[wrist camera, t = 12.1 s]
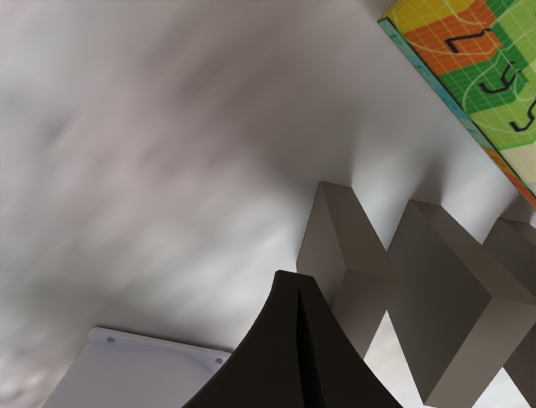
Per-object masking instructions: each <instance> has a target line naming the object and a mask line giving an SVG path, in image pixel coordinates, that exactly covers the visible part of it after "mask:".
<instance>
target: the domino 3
mask: <svg viewBox="0 0 536 408" xmlns="http://www.w3.org/2000/svg"><path fill="white" fill-rule="evenodd" d="M482 246H483V247H484V248H485V249H486V250H487V251H488V252H489V253H490V254H491V255H492V256H493V257H494V258H495V259H496V260H497V261H498V262H499V263H500V264H501V265H502V266H503V267H504V268H505V269H506V270H508V271H509V272H510V273H511V274H512V275H513V276H514V277H515V278H516V279H517V280H518V281H519V282H520V283H521V284H522V285H523V286H524V287H525V288H526V289H527V290H528V291H529V292H530V293H531V294H532V295H533V296H534V297H535V298H536V229H535V228H534V227H533V226H531V225H530V224H526V223H521V222H516V221H511V220H506V219H501V218H498V219H497V220H496V222H495V224H494V226H493V227H492V229H491V231H490V233H489V234H488V236H487V238H486V240H485V241H484V243H483V245H482ZM503 368H504V369H505V371H506V372H507V373H508V375H509V376H510V378H511V379H512V381H513V382H514V384H515V385H516V386H517V388H518V389H519V391H520V392H521V394H522V395H523V397H524V398H525V399H526V401H527V402H528V404H529V405H530V407H531V408H536V322H535V324H534V325H533V326H532V328H531V329H530V330H529V332H528V333H527V334H526V336H525V337H524V338H523V340H522V341H521V342H520V344H519V345H518V346H517V348H516V349H515V350H514V352H513V353H512V354H511V356H510V357H509V358H508V360H507V361H506V362H505V364H504V365H503Z"/></svg>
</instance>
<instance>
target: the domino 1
mask: <svg viewBox="0 0 536 408" xmlns="http://www.w3.org/2000/svg"><path fill="white" fill-rule="evenodd" d="M296 268H297V273H299V274H304V275H309V276H313V277H314V278H315V280H316V282H317V284H318V286H319V288H320V290H321V292H322V294H323V296H324V298H325V300H326V302H327V304H328V306H329V307H330V309H331V311H332V313H333V314H334V316H335V318H336V320H337V321H338V323H339V325H340V326H341V328H342V330H343V331H344V333H345V334H346V336H347V338H348V339H349V341H350V342H351V344H352V345H353V347H354V348H355V350H356V351H357V352H358V354H359V355H360V357H361V358H362V359H364V357H365V355H366V353H367V351H368V348H369V346H370V344H371V342H372V340H373V338H374V336H375V333H376V331H377V329H378V327H379V325H380V323H381V320H382V318H383V316H384V314H385V312H386V310H387V308H388V305H389V303H390V301H391V299H392V297H393V295H394V293H395V290H396V288H397V286H398V284H399V282H400V280H401V278H400V276H399V275H398V273H397V271H396V269H395V267H394V265H393V263H392V262H391V260H390V258H389V256H388V254H387V252H386V250H385V249H384V247H383V245H382V243H381V241H380V239H379V238H378V236H377V234H376V232H375V230H374V228H373V226H372V225H371V223H370V221H369V219H368V217H367V215H366V213H365V212H364V210H363V208H362V206H361V204H360V202H359V200H358V199H357V197H356V195H355V193H354V191H353V189H352V188H351V187H346V186H341V185H335V184H330V183H325V182H319V185H318V189H317V193H316V196H315V200H314V203H313V207H312V210H311V214H310V217H309V221H308V225H307V228H306V232H305V235H304V239H303V242H302V246H301V249H300V253H299V257H298V260H297V264H296Z"/></svg>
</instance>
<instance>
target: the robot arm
mask: <svg viewBox="0 0 536 408" xmlns="http://www.w3.org/2000/svg"><path fill="white" fill-rule="evenodd" d="M219 358H220V359H219ZM41 408H403V407H402V406H401V405H400V404H399V403H398V401H397V400H396V399H395V398H394V397H393V396H392V395H391V394H390V392H389V391H388V390H387V389H386V388H385V387H384V386H383V384H382V383H381V382H380V381H379V380H378V378H377V377H376V376H375V375H374V374H373V372H372V371H371V370H370V368H369V367H368V366H367V365H366V363H365V362H364V361H363V359H362V358H361V357H360V355H359V354H358V352H357V351H356V350H355V348H354V347H353V345H352V344H351V342H350V341H349V339H348V338H347V336H346V334H345V333H344V331H343V330H342V328H341V326H340V325H339V323H338V321H337V320H336V318H335V316H334V314H333V313H332V311H331V309H330V307H329V306H328V304H327V302H326V300H325V298H324V296H323V294H322V292H321V290H320V288H319V286H318V284H317V282H316V280H315V278H314V277H313V276H309V275H304V274H299V273H294V272H288V271H283V270H278V271H276V272H275V276H274V280H273V284H272V288H271V292H270V294H269V296H268V298H267V300H266V302H265V305H264V307H263V309H262V310H261V312H260V314H259V315H258V317H257V319H256V320H255V322H254V324H253V325H252V327H251V329H250V330H249V332H248V333H247V334H246V336H245V337H244V339H243V340H242V341H241V343H240V344H239V346H238V347H237V348H236V350H235V351H234V352H233V353H232V354H231V353H228V352H223V351H218V350H213V349H208V348H203V347H197V346H192V345H187V344H182V343H177V342H172V341H166V340H161V339H156V338H151V337H146V336H141V335H136V334H130V333H125V332H120V331H115V330H110V329H105V328H100V327H94V328H92V329H91V330H90V332H89V333H88V343H87V345H86V346H85V347H84V349H83V350H82V352H81V353H80V354H79V356H78V357H77V359H76V360H75V361H74V363H73V364H72V365H71V367H70V368H69V370H68V371H67V372H66V374H65V375H64V377H63V378H62V379H61V381H60V382H59V383H58V385H57V386H56V388H55V389H54V390H53V392H52V393H51V395H50V396H49V397H48V399H47V400H46V402H45V403H44V404H43V406H42V407H41Z"/></svg>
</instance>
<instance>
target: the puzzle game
mask: <svg viewBox="0 0 536 408" xmlns="http://www.w3.org/2000/svg"><path fill="white" fill-rule="evenodd" d="M377 23H378V24H379V25H380V26H381V28H382V29H383V30H384V31H385V32H386V34H387V35H388V36H389V37H390V38H391V39H392V41H393V42H394V43H395V44H396V45H397V47H398V48H399V49H400V50H401V51H402V53H403V54H404V55H405V56H406V57H407V59H408V60H409V61H410V62H411V63H412V64H413V66H414V67H415V68H416V69H417V70H418V72H419V73H420V74H421V75H422V76H423V78H424V79H425V80H426V81H427V82H428V84H429V85H430V86H431V87H432V88H433V90H434V91H435V92H436V93H437V94H438V95H439V97H440V98H441V99H442V100H443V101H444V103H445V104H446V105H447V106H448V107H449V109H450V110H451V111H452V112H453V113H454V115H455V116H456V117H457V118H458V119H459V120H460V122H461V123H462V124H463V125H464V126H465V128H466V129H467V130H468V131H469V132H470V134H471V135H472V136H473V137H474V138H475V140H476V141H477V142H478V143H479V144H480V146H481V147H482V148H483V149H484V150H485V151H486V153H487V154H488V155H489V156H490V157H491V159H492V160H493V161H494V162H495V163H496V165H497V166H498V167H499V168H500V169H501V171H502V172H503V173H504V174H505V175H506V176H507V178H508V179H509V180H510V181H511V182H512V184H513V185H514V186H515V187H516V188H517V190H518V191H519V192H520V193H521V194H522V196H523V197H524V198H525V199H526V200H527V202H528V203H529V204H530V205H531V206H532V207H533V209H534V210H535V211H536V0H396V1H395V3H394V4H393V5H392V6H391V7H390V8H389V9H388V10H387V11H386V12H385V14H384V15H383V16H382V17H381V18H380V19H379V20H378V22H377Z"/></svg>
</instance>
